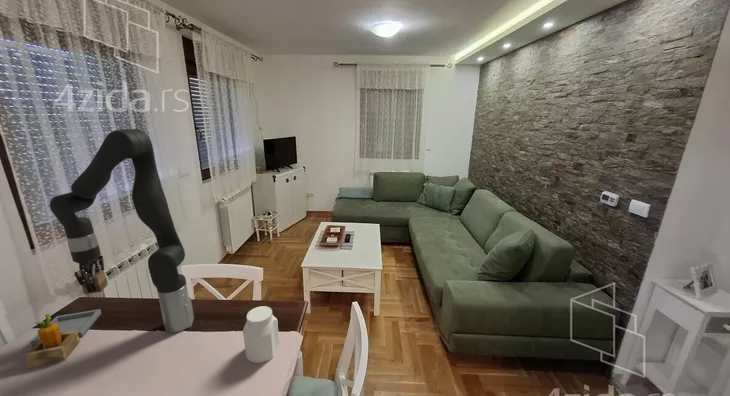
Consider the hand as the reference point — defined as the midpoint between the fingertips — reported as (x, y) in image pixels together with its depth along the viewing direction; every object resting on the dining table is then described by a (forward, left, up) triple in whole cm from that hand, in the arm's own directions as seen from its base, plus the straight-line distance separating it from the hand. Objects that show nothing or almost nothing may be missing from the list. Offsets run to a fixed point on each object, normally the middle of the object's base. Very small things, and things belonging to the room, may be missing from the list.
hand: (96, 287), depth 107 cm
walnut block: (0, 0, -1) cm, 1 cm away
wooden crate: (+9, +12, -17) cm, 22 cm away
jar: (-58, +33, -17) cm, 69 cm away
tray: (+12, -2, -17) cm, 21 cm away
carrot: (+9, +12, -17) cm, 23 cm away
